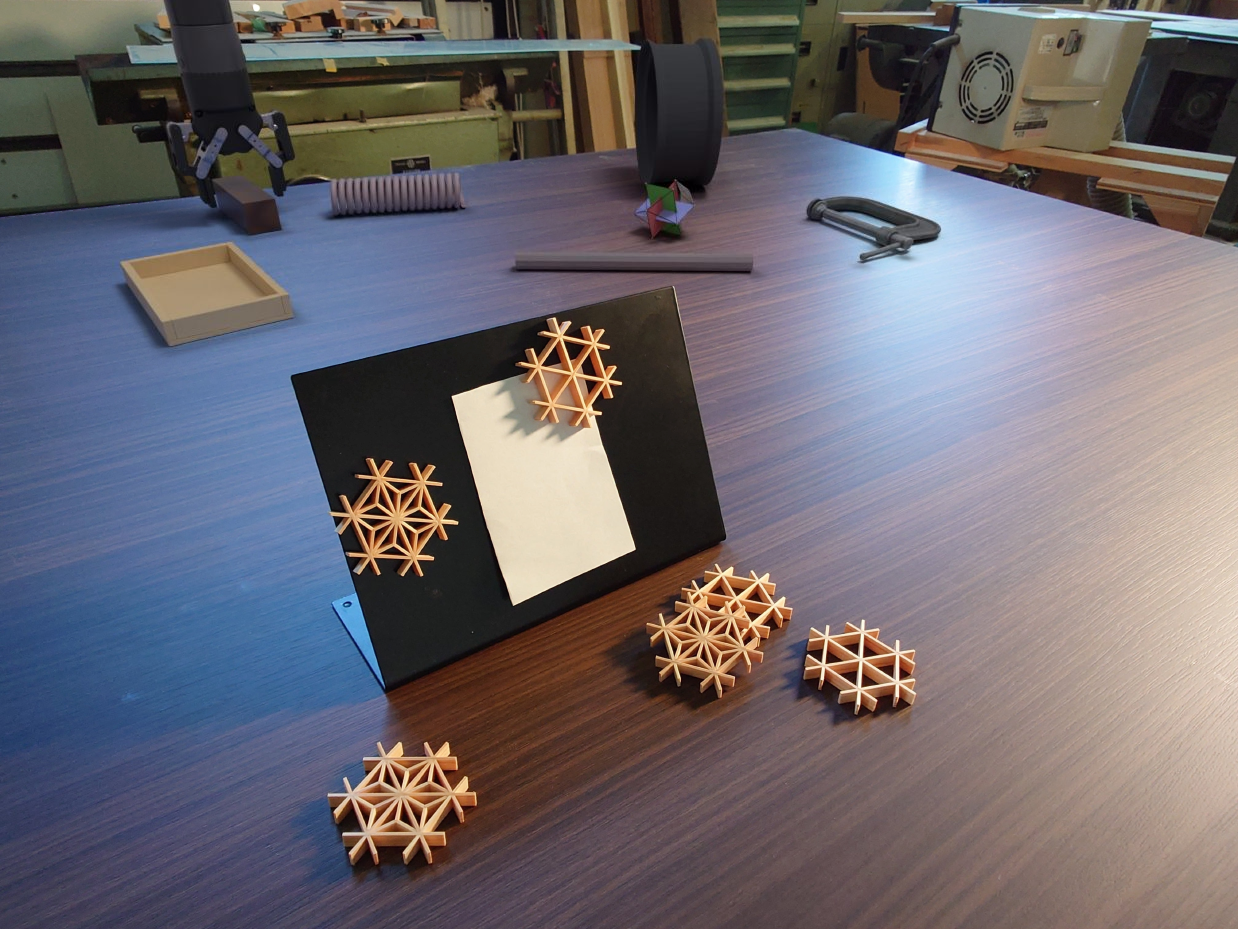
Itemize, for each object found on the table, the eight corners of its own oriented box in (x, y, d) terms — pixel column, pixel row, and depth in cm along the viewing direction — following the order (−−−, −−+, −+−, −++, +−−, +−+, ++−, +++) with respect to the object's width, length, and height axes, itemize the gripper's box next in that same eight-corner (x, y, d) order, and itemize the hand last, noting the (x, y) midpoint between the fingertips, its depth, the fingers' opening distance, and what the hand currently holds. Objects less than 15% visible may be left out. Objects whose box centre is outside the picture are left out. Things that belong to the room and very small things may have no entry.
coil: (325, 186, 105) (465, 179, 109) (326, 173, 109) (461, 167, 112) (332, 221, 108) (468, 212, 112) (333, 207, 112) (464, 199, 115)
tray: (169, 346, 75) (161, 321, 74) (126, 283, 88) (119, 261, 87) (294, 317, 81) (288, 293, 80) (237, 262, 94) (231, 241, 93)
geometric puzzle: (662, 233, 98) (687, 171, 98) (617, 221, 101) (641, 161, 101) (685, 255, 104) (709, 197, 104) (642, 244, 107) (665, 187, 107)
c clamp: (970, 244, 102) (975, 222, 101) (862, 263, 96) (866, 240, 95) (865, 202, 117) (868, 183, 116) (766, 216, 111) (768, 196, 110)
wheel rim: (716, 201, 117) (728, 47, 106) (655, 203, 116) (660, 47, 105) (687, 167, 134) (695, 30, 122) (633, 168, 132) (635, 30, 121)
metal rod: (752, 273, 93) (753, 256, 92) (515, 271, 92) (514, 254, 91) (749, 267, 94) (751, 251, 93) (517, 265, 94) (516, 249, 93)
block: (250, 235, 102) (242, 203, 100) (219, 208, 111) (211, 179, 109) (281, 229, 104) (275, 198, 102) (249, 204, 113) (242, 174, 111)
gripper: (262, 57, 104) (290, 186, 113) (141, 66, 96) (181, 203, 105) (282, 64, 99) (309, 198, 108) (155, 74, 91) (196, 217, 101)
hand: (246, 200), depth 107 cm, fingers open, 8 cm apart
